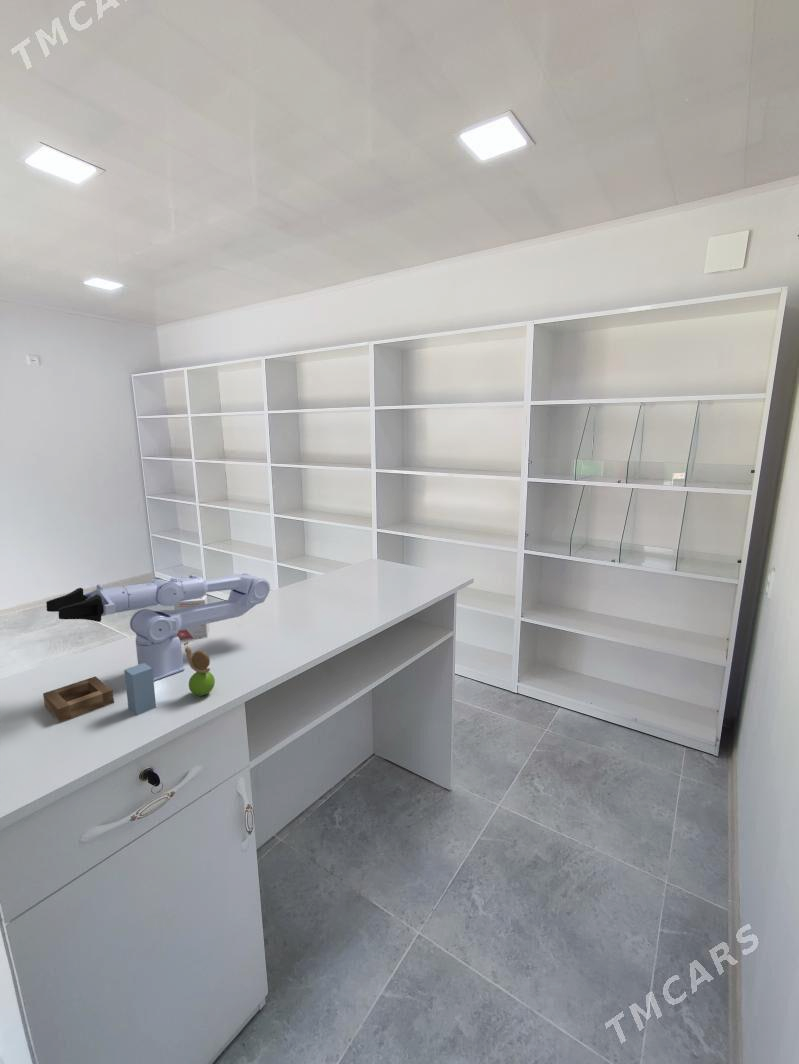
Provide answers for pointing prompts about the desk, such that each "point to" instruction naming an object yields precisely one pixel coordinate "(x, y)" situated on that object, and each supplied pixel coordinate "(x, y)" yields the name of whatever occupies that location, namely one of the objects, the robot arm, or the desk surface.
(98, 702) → the walnut collar
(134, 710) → the slate-blue peg
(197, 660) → the snail figurine
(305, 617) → the desk surface
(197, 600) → the ink cartridge box
